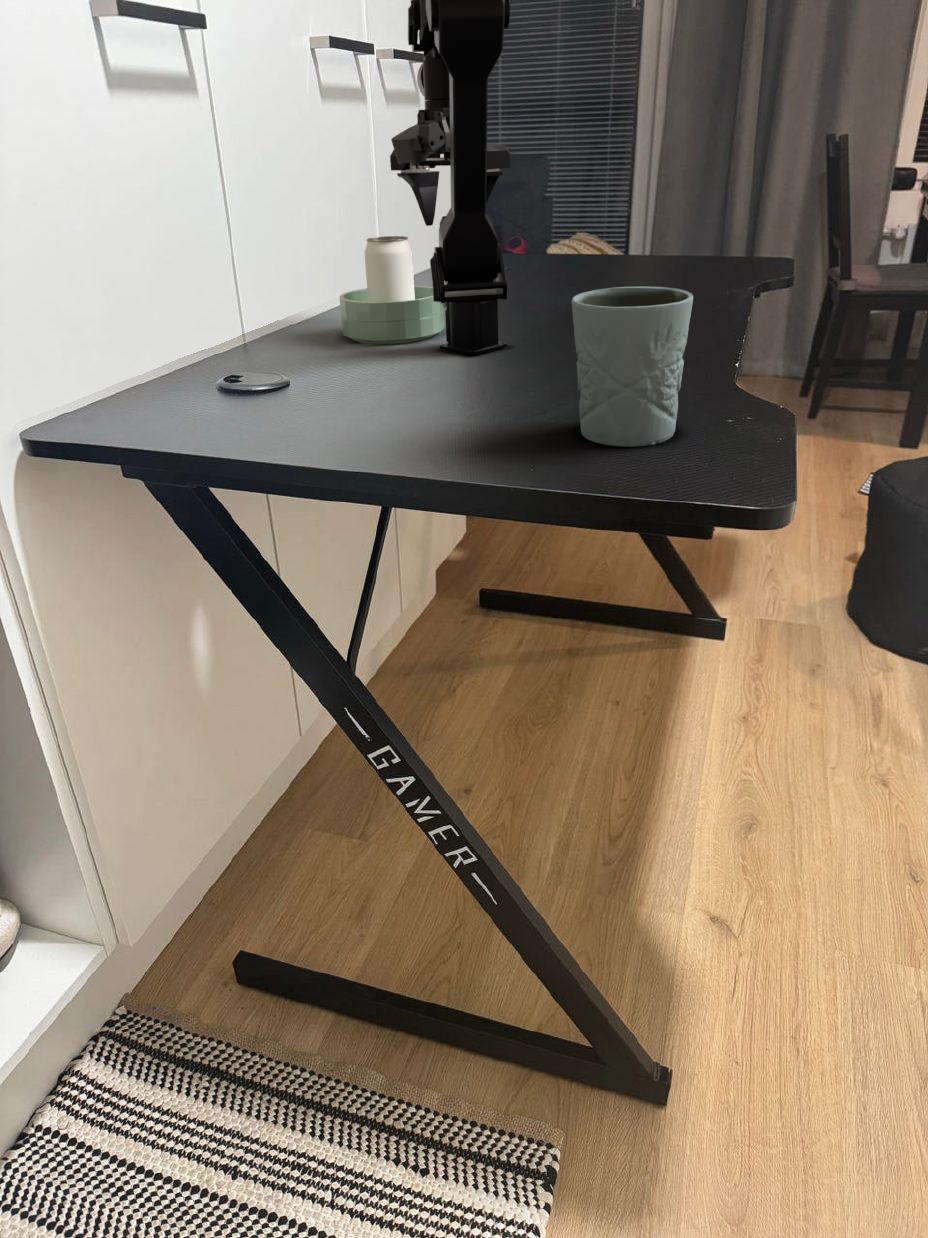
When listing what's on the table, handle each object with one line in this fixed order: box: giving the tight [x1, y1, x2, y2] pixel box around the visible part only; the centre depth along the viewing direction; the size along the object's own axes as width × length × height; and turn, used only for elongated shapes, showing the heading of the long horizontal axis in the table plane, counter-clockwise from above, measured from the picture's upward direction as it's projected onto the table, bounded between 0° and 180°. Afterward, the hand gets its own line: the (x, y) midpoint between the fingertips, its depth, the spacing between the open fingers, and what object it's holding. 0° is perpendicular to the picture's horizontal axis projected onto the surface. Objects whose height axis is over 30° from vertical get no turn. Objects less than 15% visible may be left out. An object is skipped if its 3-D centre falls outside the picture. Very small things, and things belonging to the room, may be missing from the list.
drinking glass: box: [571, 285, 694, 448], centre depth 78 cm, size 10×10×12 cm
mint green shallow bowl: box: [338, 285, 445, 345], centre depth 124 cm, size 14×14×6 cm
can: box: [364, 235, 415, 302], centre depth 122 cm, size 6×6×12 cm
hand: (450, 226), depth 126 cm, fingers open, 9 cm apart
